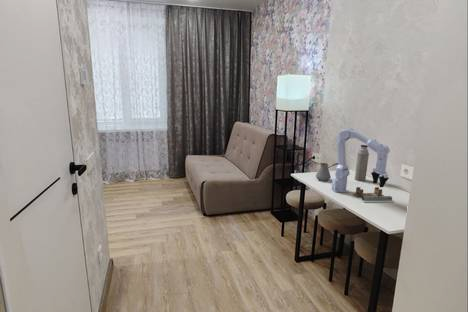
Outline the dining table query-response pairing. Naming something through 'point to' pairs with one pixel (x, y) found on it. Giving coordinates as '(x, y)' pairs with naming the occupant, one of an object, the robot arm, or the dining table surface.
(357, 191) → the rack
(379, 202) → the pad
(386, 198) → the rail
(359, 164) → the thermos bottle
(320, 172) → the coffee pot
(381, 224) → the dining table surface
